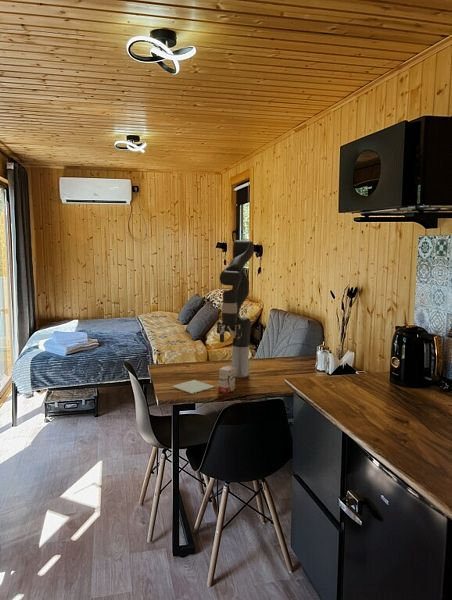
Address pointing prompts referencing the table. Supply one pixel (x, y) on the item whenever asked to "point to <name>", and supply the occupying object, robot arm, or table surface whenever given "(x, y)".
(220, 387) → the ink box
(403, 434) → the table surface
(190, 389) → the mat
